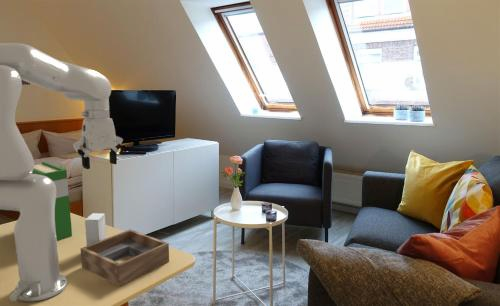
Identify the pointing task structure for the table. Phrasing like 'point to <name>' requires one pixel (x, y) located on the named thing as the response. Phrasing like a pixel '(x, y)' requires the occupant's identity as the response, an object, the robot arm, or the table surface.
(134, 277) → the socket box
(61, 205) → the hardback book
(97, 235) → the skincare box
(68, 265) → the table surface
